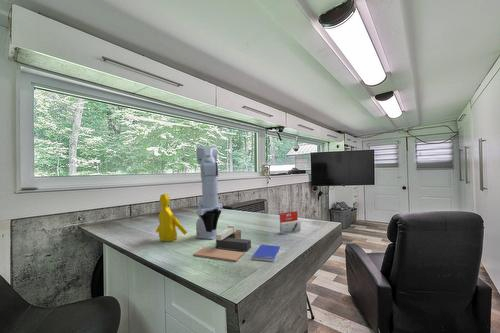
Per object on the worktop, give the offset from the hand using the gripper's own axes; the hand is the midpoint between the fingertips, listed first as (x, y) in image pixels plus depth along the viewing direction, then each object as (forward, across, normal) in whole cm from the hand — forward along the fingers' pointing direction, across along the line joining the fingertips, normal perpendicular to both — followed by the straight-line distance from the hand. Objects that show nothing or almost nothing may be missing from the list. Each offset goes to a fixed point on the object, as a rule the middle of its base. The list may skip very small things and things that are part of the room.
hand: (211, 230), depth 80 cm
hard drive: (+10, +8, -19) cm, 23 cm away
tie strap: (+5, +12, 0) cm, 13 cm away
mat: (+9, +2, -2) cm, 10 cm away
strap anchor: (+9, +18, 0) cm, 20 cm away
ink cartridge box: (+10, +38, -22) cm, 45 cm away
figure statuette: (+10, +10, +30) cm, 33 cm away
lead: (+10, +10, -4) cm, 14 cm away
